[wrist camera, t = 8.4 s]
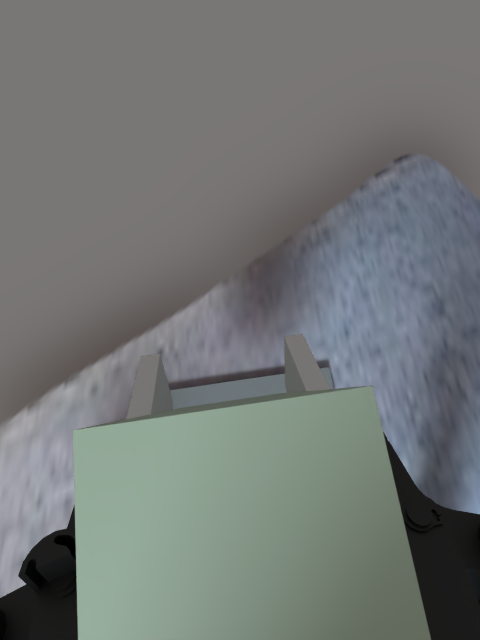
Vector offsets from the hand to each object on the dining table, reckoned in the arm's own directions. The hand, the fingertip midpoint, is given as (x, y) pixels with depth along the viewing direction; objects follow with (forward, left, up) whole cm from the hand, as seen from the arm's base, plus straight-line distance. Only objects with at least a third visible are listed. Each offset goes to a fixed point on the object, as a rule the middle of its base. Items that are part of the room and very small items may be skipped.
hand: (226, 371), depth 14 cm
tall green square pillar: (0, +4, -4) cm, 5 cm away
